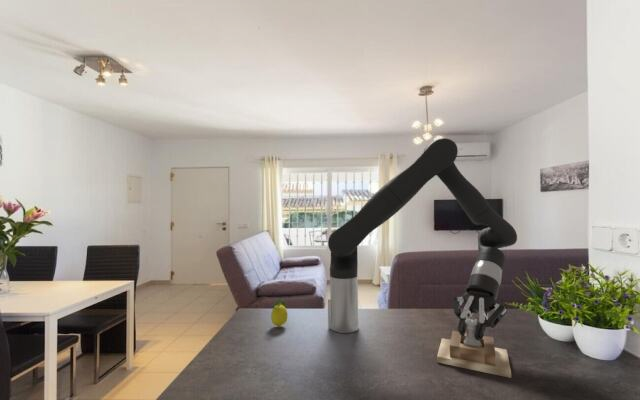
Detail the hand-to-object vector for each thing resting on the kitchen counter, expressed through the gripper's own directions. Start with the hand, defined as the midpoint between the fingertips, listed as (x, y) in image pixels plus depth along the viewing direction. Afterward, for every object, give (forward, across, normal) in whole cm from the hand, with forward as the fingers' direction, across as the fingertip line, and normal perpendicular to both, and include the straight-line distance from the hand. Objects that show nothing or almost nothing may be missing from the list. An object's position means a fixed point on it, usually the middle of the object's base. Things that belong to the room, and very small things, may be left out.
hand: (469, 336), depth 76 cm
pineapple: (+20, -53, -12) cm, 58 cm away
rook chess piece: (+2, 0, +4) cm, 5 cm away
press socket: (+3, 0, +6) cm, 7 cm away
